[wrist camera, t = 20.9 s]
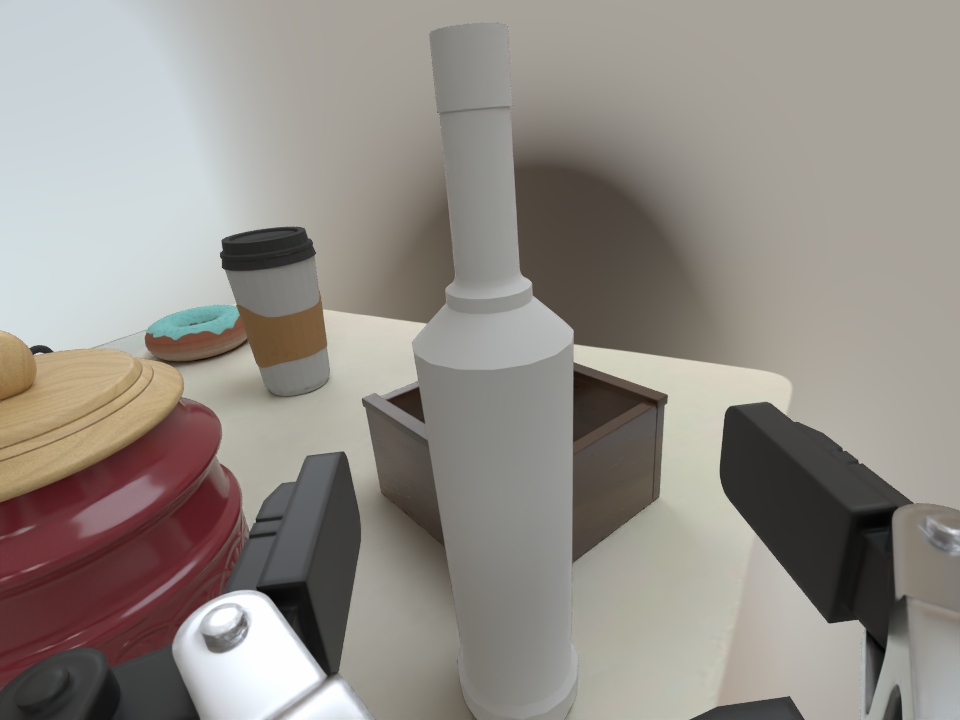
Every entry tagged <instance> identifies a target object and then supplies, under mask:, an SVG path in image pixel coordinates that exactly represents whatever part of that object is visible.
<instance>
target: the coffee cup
mask: <svg viewBox="0 0 960 720" xmlns="http://www.w3.org/2000/svg"><path fill="white" fill-rule="evenodd" d="M312 245H313V242H312V240H311V239H308V237H307V234H306V231H305V229H304V228H301V227H278V228H268V229H261V230H254V231H249V232H244V233H239V234H235V235H232V236H229V237H226V238H224V239H222V247H223V251H222V252H221V253H220V257H221V259H222V268H223V269H225V271H226V274H227V277H228V280H229V283H230V285H231V288H232V291H233V294H234V297H235V300H236V303H237V305H236V306H237V309H238V312H239V315H240V317H241V320H242V323H243V326H244V329H245V332H246V335H247V338H248V340H249V343H250V346H251V349H252V352H253V355H254V358H255V361H256V363H257V365H258V366H259V369H260V372H261V375H262V378H263V381H264V384H265V386H266V387H267V388H268V389H269V390H270V392H271V393H272V394H275V395H279V396H293V395H300V394H304V393H308V392H310V391H313V390H315V389H317V388H320V387H321V386H322V385H324V384H325V383H326V382H327V380H328V376H329V374H330V367H329V360H328V352H327V339H326V332H325V324H324V317H323V310H322V302H321V295H320V291H319V287H318V279H317V272H316V265H315V258H314V255H315V254H316V252H315V250H314V248H313V246H312Z"/></svg>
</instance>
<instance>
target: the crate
mask: <svg viewBox="0 0 960 720" xmlns="http://www.w3.org/2000/svg"><path fill="white" fill-rule="evenodd" d="M667 399H668V395H667V394H664V393H661V392H658V391H655V390H652V389H649V388H646V387H644V386H641V385H638V384H635V383H632V382H629V381H626V380H623V379H620V378H617V377H615V376H612V375H609V374H606V373H603V372H600V371H597V370H594V369H591V368H589V367H586V366H583V365H580V364H577V363H574V362H573V497H572V563H573V562H574V561H575V560H577V559H578V558H579V557H580V556H582V555H583V554H584V553H586V552H587V551H588V550H590V549H591V548H592V547H594V546H595V545H596V544H598V543H599V542H600V541H601V540H603V539H604V538H605V537H607V536H608V535H609V534H611V533H612V532H613V531H615V530H616V529H617V528H618V527H620V526H621V525H622V524H624V523H625V522H626V521H628V520H629V519H630V518H632V517H633V516H634V515H636V514H637V513H638V512H639V511H641V510H642V509H643V508H645V507H646V506H647V505H649V504H650V503H651V502H652V501H654V500H655V499H656V498H658V497H659V494H660V477H661V459H662V441H663V424H664V406H665V404H667ZM362 403H363V406H364V407H365V408H366V413H367V418H368V423H369V429H370V434H371V439H372V445H373V450H374V455H375V461H376V466H377V472H378V477H379V482H380V488H381V492H382V493H383V494H385V495H386V496H387V497H388V498H389V499H390V500H392V501H393V502H394V503H395V504H396V505H397V506H399V507H400V508H401V509H402V510H403V511H404V512H405V513H407V514H408V515H409V516H410V517H411V518H412V519H414V520H415V521H416V522H417V523H418V524H419V525H421V526H422V527H423V528H424V529H425V530H426V531H428V532H429V533H430V534H431V535H432V536H433V537H435V538H436V539H437V540H438V541H439V542H440V543H442V544H443V545H444V546H445V542H444V536H443V530H442V524H441V518H440V512H439V505H438V499H437V493H436V487H435V481H434V475H433V468H432V462H431V456H430V450H429V444H428V438H427V431H426V425H425V419H424V413H423V407H422V401H421V394H420V388H419V382H418V381H417V382H415V383H412V384H410V385H407V386H405V387H402V388H400V389H397V390H395V391H392V392H390V393H387V394H385V395H382V396H379V395H377V394H375V393H374V394H372V395H369V396H366V397H364V398H362Z"/></svg>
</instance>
